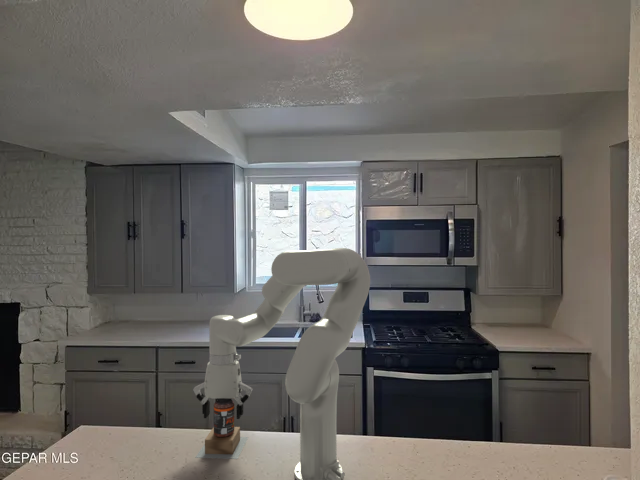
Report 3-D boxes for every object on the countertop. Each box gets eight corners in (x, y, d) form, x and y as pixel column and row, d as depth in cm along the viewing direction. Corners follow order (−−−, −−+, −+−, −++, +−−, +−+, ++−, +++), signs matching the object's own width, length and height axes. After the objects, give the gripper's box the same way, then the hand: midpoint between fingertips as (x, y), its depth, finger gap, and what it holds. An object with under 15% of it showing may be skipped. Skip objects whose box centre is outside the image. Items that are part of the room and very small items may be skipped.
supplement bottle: (229, 439, 112) (229, 399, 112) (209, 437, 113) (209, 397, 113) (237, 429, 118) (237, 391, 118) (219, 427, 119) (219, 389, 119)
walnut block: (240, 440, 119) (240, 426, 119) (232, 454, 111) (232, 440, 111) (214, 439, 120) (214, 426, 120) (204, 453, 112) (204, 439, 112)
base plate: (248, 440, 121) (248, 437, 121) (237, 462, 109) (237, 458, 109) (209, 439, 122) (209, 435, 122) (195, 461, 110) (195, 457, 110)
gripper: (254, 355, 118) (255, 411, 118) (198, 354, 120) (198, 410, 120) (248, 362, 111) (249, 423, 111) (188, 361, 112) (189, 421, 112)
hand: (222, 416), depth 115 cm, fingers open, 9 cm apart
